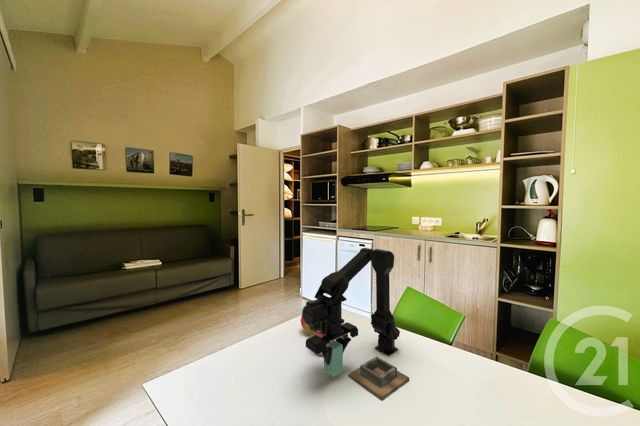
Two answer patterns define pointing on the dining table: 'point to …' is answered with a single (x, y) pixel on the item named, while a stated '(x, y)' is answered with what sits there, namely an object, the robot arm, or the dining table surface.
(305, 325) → the apple
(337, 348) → the rail post
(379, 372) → the square socket base
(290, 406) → the dining table surface
